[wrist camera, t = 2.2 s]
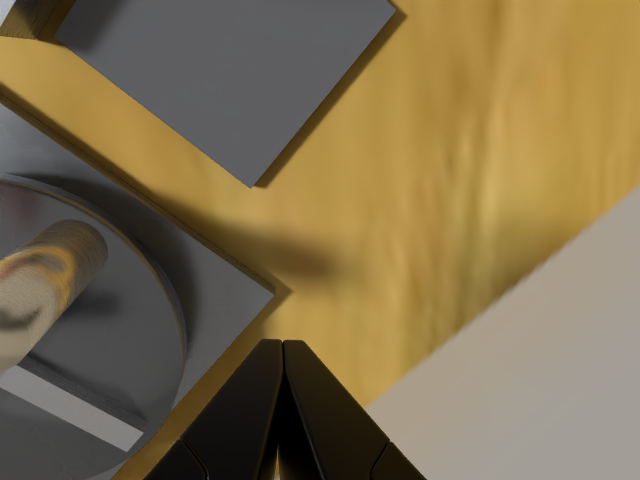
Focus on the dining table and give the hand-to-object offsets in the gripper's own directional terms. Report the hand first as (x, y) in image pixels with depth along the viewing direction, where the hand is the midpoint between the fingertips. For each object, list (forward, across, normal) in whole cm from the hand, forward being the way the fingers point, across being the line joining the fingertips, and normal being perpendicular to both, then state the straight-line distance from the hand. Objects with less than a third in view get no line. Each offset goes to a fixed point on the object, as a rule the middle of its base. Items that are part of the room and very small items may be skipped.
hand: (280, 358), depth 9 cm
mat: (+7, +2, -6) cm, 10 cm away
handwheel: (+6, +8, +4) cm, 11 cm away
